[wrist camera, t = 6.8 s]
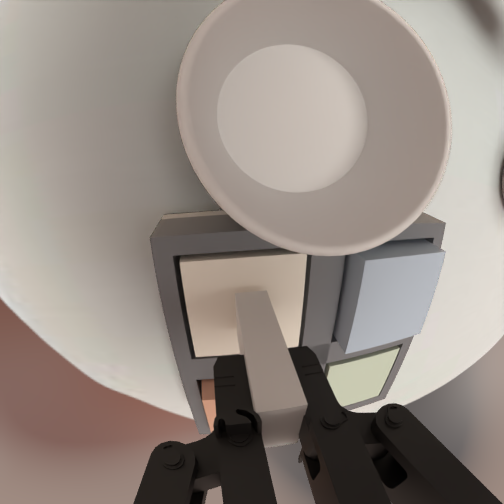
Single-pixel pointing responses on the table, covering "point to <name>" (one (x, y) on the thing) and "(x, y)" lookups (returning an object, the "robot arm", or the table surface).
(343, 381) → the key
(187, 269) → the key
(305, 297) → the keypad
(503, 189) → the can
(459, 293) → the table surface
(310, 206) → the food container
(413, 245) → the key
